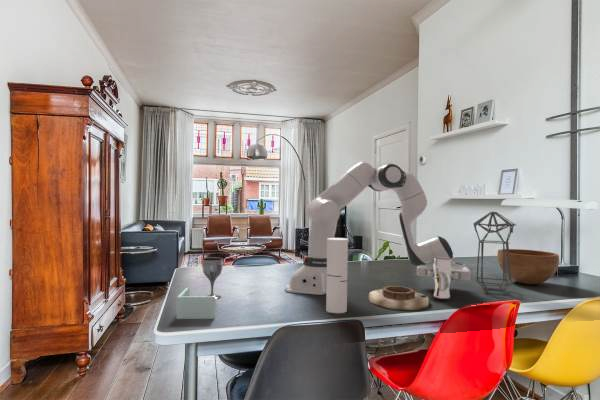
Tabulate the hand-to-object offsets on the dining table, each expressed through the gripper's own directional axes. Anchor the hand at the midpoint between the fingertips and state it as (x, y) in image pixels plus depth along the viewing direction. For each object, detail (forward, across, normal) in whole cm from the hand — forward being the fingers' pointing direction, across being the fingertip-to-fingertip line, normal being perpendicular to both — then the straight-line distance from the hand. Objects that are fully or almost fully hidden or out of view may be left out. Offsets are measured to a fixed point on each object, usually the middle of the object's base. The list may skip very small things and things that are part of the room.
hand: (442, 275), depth 137 cm
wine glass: (+36, -82, +11) cm, 90 cm away
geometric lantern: (-27, +20, +10) cm, 35 cm away
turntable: (+9, -15, +10) cm, 20 cm away
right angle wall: (+54, -73, +12) cm, 92 cm away
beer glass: (-1, 0, +8) cm, 9 cm away
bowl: (-52, +36, +9) cm, 64 cm away
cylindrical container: (+30, -33, +10) cm, 46 cm away
